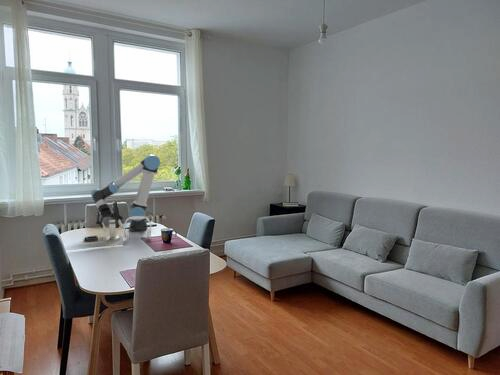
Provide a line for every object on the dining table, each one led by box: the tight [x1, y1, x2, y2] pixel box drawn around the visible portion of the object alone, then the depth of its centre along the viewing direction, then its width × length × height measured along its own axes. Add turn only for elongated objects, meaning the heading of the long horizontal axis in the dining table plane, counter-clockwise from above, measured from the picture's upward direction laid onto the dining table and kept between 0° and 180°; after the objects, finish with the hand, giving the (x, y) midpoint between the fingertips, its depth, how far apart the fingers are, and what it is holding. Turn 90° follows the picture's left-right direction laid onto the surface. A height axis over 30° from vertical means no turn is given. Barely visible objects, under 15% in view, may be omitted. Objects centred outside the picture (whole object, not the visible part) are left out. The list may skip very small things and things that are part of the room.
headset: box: [122, 216, 152, 240], centre depth 262 cm, size 20×7×18 cm, turn 105°
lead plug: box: [108, 219, 117, 238], centre depth 262 cm, size 5×5×13 cm
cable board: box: [82, 235, 123, 243], centre depth 260 cm, size 26×10×4 cm, turn 115°
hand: (114, 228), depth 261 cm, fingers open, 13 cm apart
